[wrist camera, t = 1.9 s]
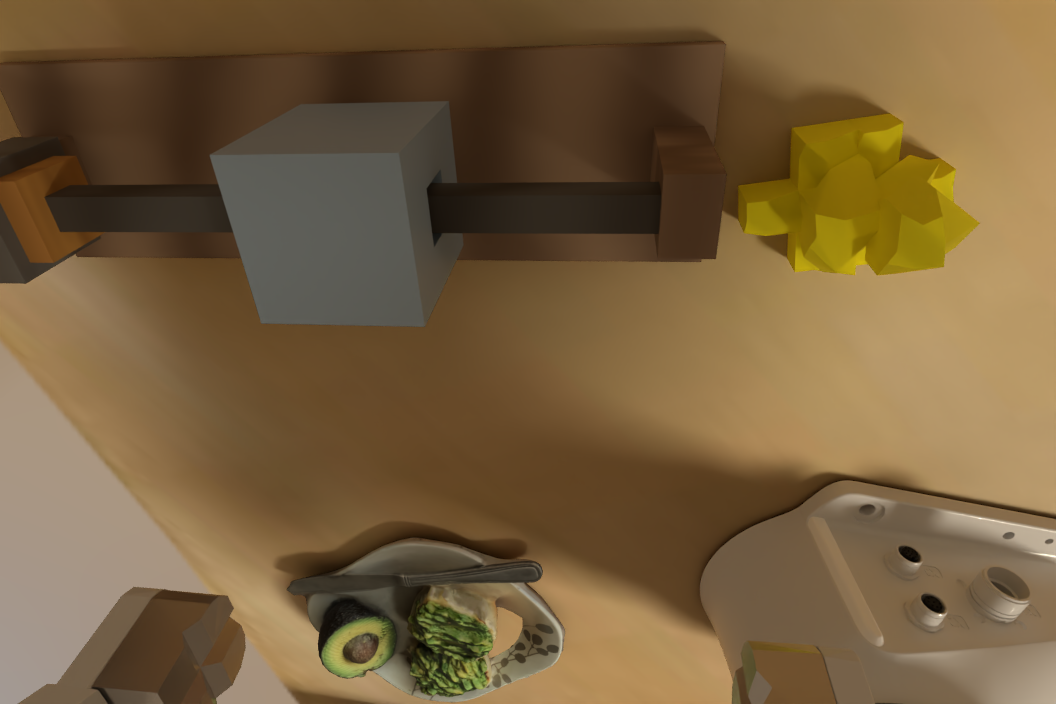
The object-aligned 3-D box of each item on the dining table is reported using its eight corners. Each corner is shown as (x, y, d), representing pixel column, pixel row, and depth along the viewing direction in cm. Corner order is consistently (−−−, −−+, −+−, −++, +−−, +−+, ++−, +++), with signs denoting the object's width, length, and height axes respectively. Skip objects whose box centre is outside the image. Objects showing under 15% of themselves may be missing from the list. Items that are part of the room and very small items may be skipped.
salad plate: (460, 470, 40) (444, 528, 36) (628, 623, 46) (629, 686, 42) (272, 577, 48) (242, 634, 44) (437, 695, 54) (424, 753, 50)
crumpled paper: (737, 135, 27) (776, 199, 21) (946, 103, 25) (1060, 162, 19) (738, 262, 30) (772, 352, 24) (925, 240, 29) (1017, 331, 22)
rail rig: (722, 41, 25) (764, 82, 18) (699, 254, 30) (725, 350, 23) (4, 62, 29) (-188, 103, 22) (87, 250, 33) (-47, 332, 27)
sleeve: (448, 101, 25) (398, 152, 19) (463, 245, 28) (424, 326, 22) (300, 104, 26) (209, 154, 20) (332, 244, 29) (261, 323, 23)
